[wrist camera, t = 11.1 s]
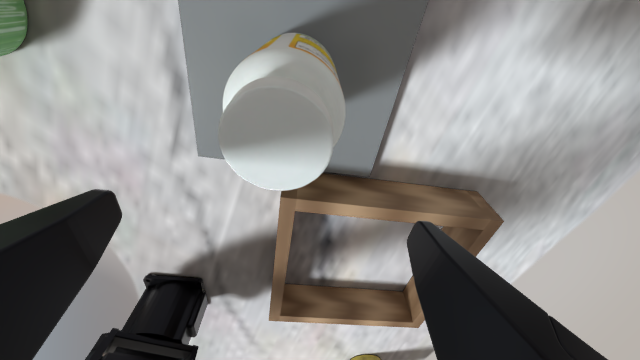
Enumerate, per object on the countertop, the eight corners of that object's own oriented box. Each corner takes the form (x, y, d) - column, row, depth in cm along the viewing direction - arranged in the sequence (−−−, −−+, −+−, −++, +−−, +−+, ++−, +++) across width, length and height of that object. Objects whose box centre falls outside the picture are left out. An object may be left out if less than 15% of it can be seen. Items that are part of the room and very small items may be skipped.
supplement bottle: (335, 29, 15) (361, 57, 7) (335, 116, 18) (353, 202, 10) (245, 33, 15) (170, 64, 7) (261, 119, 18) (220, 207, 10)
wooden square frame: (272, 288, 32) (268, 320, 29) (285, 168, 22) (280, 197, 18) (407, 297, 34) (418, 327, 31) (477, 191, 24) (504, 221, 20)
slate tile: (202, 150, 20) (198, 156, 19) (174, -95, 12) (165, -102, 12) (367, 170, 22) (369, 177, 21) (433, -34, 14) (441, -37, 13)
